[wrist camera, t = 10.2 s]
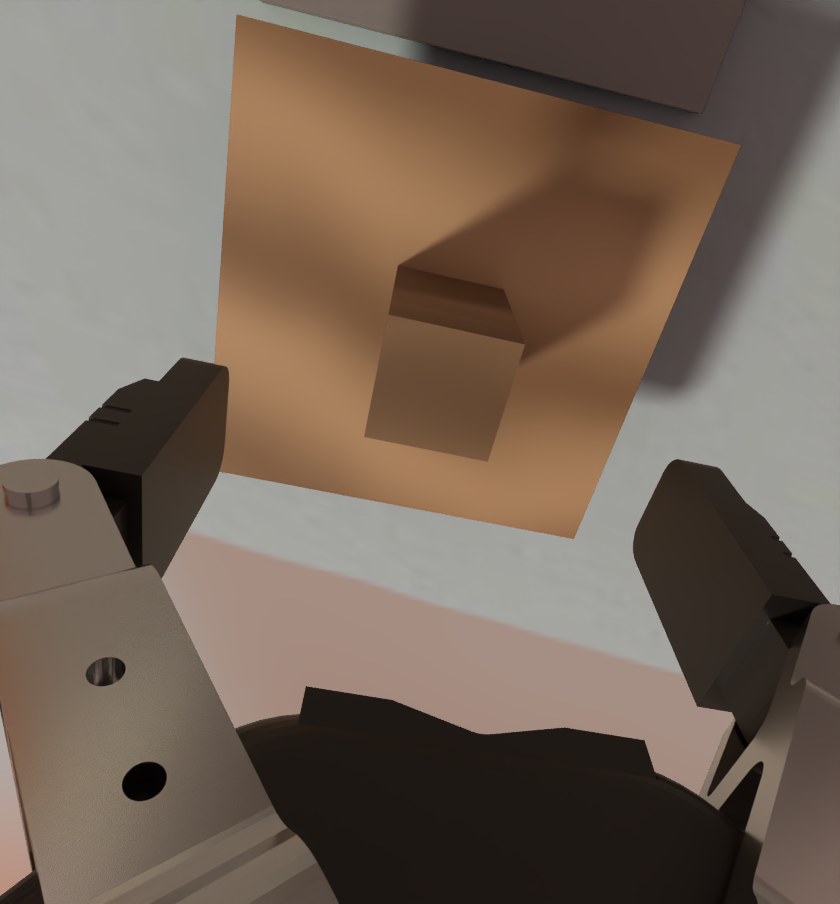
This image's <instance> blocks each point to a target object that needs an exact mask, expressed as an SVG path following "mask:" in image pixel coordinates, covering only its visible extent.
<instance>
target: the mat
mask: <svg viewBox="0 0 840 904" xmlns="http://www.w3.org/2000/svg"><path fill="white" fill-rule="evenodd" d="M260 1H262V2H263V3H267V4H271V5H275V6H279V7H283V8H287V9H291V10H295V11H299V12H302V13H306V14H310V15H314V16H318V17H322V18H326V19H330V20H334V21H338V22H341V23H345V24H349V25H353V26H357V27H361V28H365V29H369V30H373V31H377V32H380V33H384V34H388V35H392V36H396V37H400V38H404V39H408V40H412V41H416V42H419V43H423V44H427V45H431V46H435V47H439V48H443V49H447V50H451V51H455V52H459V53H462V54H466V55H470V56H474V57H478V58H482V59H486V60H490V61H494V62H498V63H501V64H505V65H509V66H513V67H517V68H521V69H525V70H529V71H533V72H537V73H540V74H544V75H548V76H552V77H556V78H560V79H564V80H568V81H572V82H576V83H580V84H583V85H587V86H591V87H595V88H599V89H603V90H607V91H611V92H615V93H619V94H622V95H626V96H630V97H634V98H638V99H642V100H646V101H650V102H654V103H658V104H661V105H665V106H669V107H673V108H677V109H681V110H685V111H689V112H693V113H701V114H702V113H703V110H704V108H705V105H706V102H707V100H708V97H709V95H710V92H711V89H712V87H713V84H714V82H715V79H716V76H717V74H718V71H719V69H720V66H721V64H722V61H723V58H724V56H725V53H726V51H727V48H728V45H729V43H730V40H731V38H732V35H733V32H734V30H735V27H736V25H737V22H738V19H739V17H740V14H741V12H742V9H743V6H744V4H745V1H746V0H260Z"/></svg>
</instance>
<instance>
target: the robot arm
mask: <svg viewBox="0 0 840 904" xmlns="http://www.w3.org/2000/svg"><path fill="white" fill-rule="evenodd" d="M228 392H229V371H228V368H227V367H226V366H222V365H217V364H212V363H207V362H202V361H197V360H192V359H187V358H181V359H180V360H179V361H178V362H177V363H176V364H175V365H174V366H173V367H172V368H171V369H170V370H169V371H168V372H167V373H166V374H165V376H164V377H163V378H162V379H161V380H160V381H154V380H149V379H143V380H140V381H138V382H135V383H133V384H130V385H128V386H125V387H123V388H120V389H118V390H117V391H116V392H115V393H114V394H113V395H112V396H111V397H110V398H109V399H108V400H107V401H105V402H104V403H103V404H102V408H100V407H99V408H98V409H97V410H96V411H95V412H94V413H93V414H92V415H91V416H90V417H89V421H85V422H84V423H83V424H82V425H80V426H79V427H78V428H77V429H76V430H75V431H74V432H73V433H72V434H71V435H70V436H69V437H68V438H67V439H66V440H65V441H64V442H63V443H62V444H61V445H60V446H59V447H58V448H57V449H55V450H54V451H53V452H52V453H51V454H50V455H49V456H48V457H47V458H46V459H29V460H20V461H15V462H10V463H6V464H2V465H0V712H1V716H2V721H3V726H4V732H5V737H6V742H7V747H8V752H9V757H10V762H11V767H12V772H13V777H14V782H15V787H16V792H17V797H18V802H19V808H20V813H21V818H22V823H23V829H24V834H25V840H26V845H27V850H28V855H29V860H30V865H31V870H32V872H31V873H30V874H29V875H27V876H26V877H25V878H23V879H22V880H21V881H19V882H18V883H17V884H16V885H14V886H13V887H12V888H10V889H9V890H8V891H6V892H5V893H4V894H2V895H1V896H0V904H840V605H835V604H830V603H829V601H828V600H827V599H826V597H825V596H824V595H823V593H822V592H821V591H820V590H819V588H818V587H817V586H816V584H815V583H814V582H813V580H812V579H811V578H810V576H809V575H808V574H807V573H806V571H805V570H804V569H803V567H802V566H801V565H800V563H799V562H798V561H797V560H796V558H793V557H791V555H792V553H791V552H790V550H789V549H788V548H787V547H786V545H785V544H784V543H783V541H779V538H780V537H779V536H778V535H777V534H776V532H775V531H774V530H773V528H772V527H771V526H770V524H769V523H768V522H767V520H766V519H765V518H764V517H763V516H762V515H760V514H759V513H758V512H757V511H755V510H754V509H753V508H752V507H750V506H749V505H748V504H747V503H745V501H744V500H743V499H742V497H741V496H740V495H739V493H738V492H737V491H736V489H735V488H734V487H733V485H732V484H731V483H730V481H729V480H728V479H727V477H726V476H725V475H724V473H723V472H722V471H721V470H720V469H719V468H717V467H713V466H708V465H703V464H698V463H694V462H689V461H684V460H679V459H677V460H674V461H672V462H671V463H670V464H669V465H668V466H667V467H666V469H665V471H664V472H663V474H662V477H661V479H660V481H659V483H658V485H657V487H656V489H655V491H654V493H653V495H652V497H651V499H650V501H649V503H648V505H647V507H646V509H645V511H644V514H643V516H642V518H641V520H640V522H639V524H638V526H637V528H636V532H635V535H634V541H633V553H634V558H635V561H636V564H637V566H638V568H639V571H640V573H641V575H642V578H643V580H644V583H645V585H646V587H647V590H648V592H649V594H650V597H651V599H652V601H653V604H654V606H655V608H656V611H657V613H658V615H659V618H660V620H661V622H662V625H663V627H664V630H665V632H666V634H667V637H668V639H669V641H670V644H671V646H672V648H673V651H674V653H675V655H676V658H677V660H678V662H679V665H680V667H681V669H682V672H683V674H684V676H685V679H686V681H687V683H688V686H689V688H690V691H691V693H692V695H693V697H694V700H695V702H696V705H697V707H704V708H710V709H716V710H722V711H728V712H732V713H733V715H734V720H733V721H732V722H731V724H730V725H729V727H728V728H727V729H726V731H725V733H724V734H723V737H722V739H721V741H720V744H719V746H718V749H717V751H716V754H715V756H714V759H713V761H712V764H711V766H710V769H709V771H708V774H707V776H706V779H705V781H704V783H703V786H702V788H701V791H700V794H699V796H698V795H697V794H695V793H694V792H692V791H690V790H689V789H687V788H686V787H684V786H682V785H681V784H679V783H677V782H675V781H673V780H671V779H669V778H667V777H665V776H663V775H661V774H658V773H656V772H654V768H653V765H652V762H651V759H650V756H649V753H648V750H647V747H646V744H645V741H644V740H638V739H632V738H626V737H620V736H614V735H607V734H601V733H595V732H589V731H582V730H576V729H570V728H555V729H544V730H533V731H522V732H511V733H501V734H489V735H488V734H487V735H485V734H478V733H475V732H471V731H469V730H466V729H464V728H461V727H458V726H456V725H454V724H451V723H449V722H446V721H444V720H441V719H438V718H436V717H433V716H430V715H428V714H426V713H423V712H421V711H418V710H416V709H413V708H411V707H408V706H406V705H403V704H401V703H398V702H395V701H393V700H388V699H382V698H376V697H369V696H363V695H357V694H351V693H344V692H338V691H332V690H326V689H319V688H312V687H307V686H306V689H305V694H304V698H303V703H302V708H301V712H300V714H297V715H286V716H279V717H274V718H268V719H263V720H259V721H256V722H253V723H250V724H247V725H244V726H241V727H238V728H236V729H235V728H234V726H233V724H232V722H231V720H230V718H229V716H228V714H227V712H226V710H225V708H224V706H223V704H222V702H221V700H220V698H219V695H218V693H217V691H216V689H215V687H214V685H213V683H212V681H211V679H210V677H209V675H208V673H207V671H206V669H205V667H204V665H203V663H202V661H201V659H200V657H199V655H198V653H197V651H196V649H195V647H194V645H193V643H192V641H191V638H190V636H189V634H188V633H187V630H186V628H185V626H184V624H183V622H182V620H181V618H180V616H179V614H178V612H177V610H176V608H175V606H174V604H173V602H172V600H171V598H170V596H169V594H168V592H167V590H166V588H165V586H164V584H163V581H162V580H161V578H162V577H163V575H164V573H165V571H166V570H167V568H168V566H169V564H170V562H171V561H172V559H173V557H174V555H175V553H176V551H177V550H178V548H179V546H180V544H181V542H182V540H183V539H184V537H185V535H186V533H187V532H188V530H189V528H190V526H191V524H192V523H193V521H194V519H195V517H196V515H197V514H198V512H199V510H200V508H201V506H202V504H203V503H204V501H205V499H206V497H207V495H208V494H209V492H210V490H211V488H212V486H213V485H214V483H215V481H216V479H217V476H218V474H219V471H220V468H221V464H222V460H223V455H224V448H225V435H226V421H227V406H228Z"/></svg>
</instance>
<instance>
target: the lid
mask: <svg viewBox="0 0 840 904" xmlns="http://www.w3.org/2000/svg"><path fill="white" fill-rule="evenodd" d="M740 147H741V145H739V144H735V143H731V142H728V141H724V140H720V139H716V138H712V137H708V136H704V135H700V134H697V133H693V132H689V131H685V130H681V129H677V128H673V127H670V126H666V125H662V124H658V123H654V122H650V121H646V120H643V119H639V118H635V117H631V116H627V115H623V114H619V113H615V112H612V111H608V110H604V109H600V108H596V107H592V106H588V105H585V104H581V103H577V102H573V101H569V100H565V99H561V98H558V97H554V96H550V95H546V94H542V93H538V92H534V91H530V90H527V89H523V88H519V87H515V86H511V85H507V84H503V83H500V82H496V81H492V80H488V79H484V78H480V77H476V76H473V75H469V74H465V73H461V72H457V71H453V70H449V69H445V68H442V67H438V66H434V65H430V64H426V63H422V62H418V61H415V60H411V59H407V58H403V57H399V56H395V55H391V54H387V53H384V52H380V51H376V50H372V49H368V48H364V47H360V46H357V45H353V44H349V43H345V42H341V41H337V40H333V39H330V38H326V37H322V36H318V35H314V34H310V33H306V32H302V31H299V30H295V29H291V28H287V27H283V26H279V25H275V24H272V23H268V22H264V21H260V20H256V19H252V18H248V17H245V16H241V15H237V17H236V32H235V48H234V64H233V79H232V95H231V111H230V126H229V142H228V158H227V173H226V189H225V205H224V220H223V236H222V252H221V267H220V283H219V299H218V314H217V330H216V346H215V361H214V364H217V365H222V366H226V367H227V368H228V371H229V392H228V406H227V421H226V435H225V448H224V455H223V460H222V464H221V468H220V472H225V473H230V474H236V475H241V476H246V477H251V478H257V479H262V480H267V481H272V482H278V483H283V484H288V485H293V486H299V487H304V488H309V489H314V490H320V491H325V492H330V493H335V494H341V495H346V496H351V497H356V498H362V499H367V500H372V501H377V502H383V503H388V504H393V505H399V506H404V507H409V508H414V509H420V510H425V511H430V512H435V513H441V514H446V515H451V516H456V517H462V518H467V519H472V520H477V521H483V522H488V523H493V524H498V525H504V526H509V527H514V528H519V529H525V530H530V531H535V532H540V533H546V534H551V535H556V536H561V537H567V538H572V539H574V537H575V535H576V533H577V530H578V528H579V525H580V523H581V521H582V518H583V516H584V514H585V511H586V509H587V507H588V504H589V502H590V500H591V497H592V495H593V493H594V490H595V488H596V485H597V483H598V481H599V478H600V476H601V474H602V471H603V469H604V467H605V464H606V462H607V460H608V457H609V455H610V453H611V450H612V448H613V445H614V443H615V441H616V438H617V436H618V434H619V431H620V429H621V427H622V424H623V422H624V420H625V417H626V415H627V413H628V410H629V408H630V405H631V403H632V401H633V398H634V396H635V394H636V391H637V389H638V387H639V384H640V382H641V380H642V377H643V375H644V373H645V370H646V368H647V365H648V363H649V361H650V358H651V356H652V354H653V351H654V349H655V347H656V344H657V342H658V340H659V337H660V335H661V333H662V330H663V328H664V325H665V323H666V321H667V318H668V316H669V314H670V311H671V309H672V307H673V304H674V302H675V300H676V297H677V295H678V293H679V290H680V288H681V285H682V283H683V281H684V278H685V276H686V274H687V271H688V269H689V267H690V264H691V262H692V260H693V257H694V255H695V253H696V250H697V248H698V245H699V243H700V241H701V238H702V236H703V234H704V231H705V229H706V227H707V224H708V222H709V220H710V217H711V215H712V213H713V210H714V208H715V205H716V203H717V201H718V198H719V196H720V194H721V191H722V189H723V187H724V184H725V182H726V180H727V177H728V175H729V173H730V170H731V168H732V165H733V163H734V161H735V158H736V156H737V154H738V151H739V149H740Z"/></svg>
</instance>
